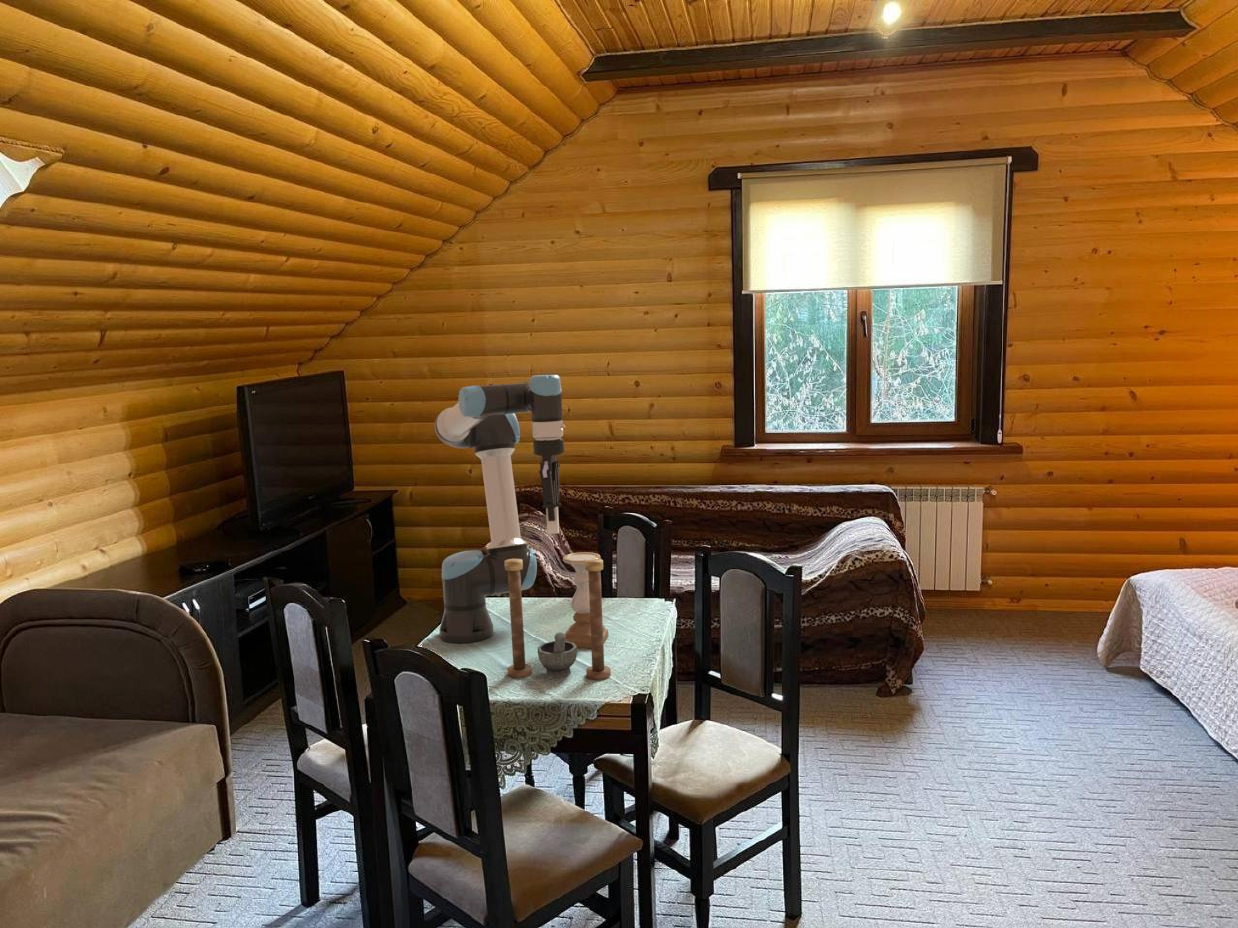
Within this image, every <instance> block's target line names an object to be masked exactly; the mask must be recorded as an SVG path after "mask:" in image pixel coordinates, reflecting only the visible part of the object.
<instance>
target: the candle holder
mask: <svg viewBox="0 0 1238 928" xmlns="http://www.w3.org/2000/svg"><path fill="white" fill-rule="evenodd" d="M588 559H601V555H600V554H599V553H596V552H592V551H591V552H587V551H583V552H582V551H581V552H574V553H573V552H572V553H568V554H566V555H564V556H563V557H562V561H563V562H564V563H565V564H568V565H572V567H573V568H574V570H575V576H574V577H573V579H572V580H573V582H574V584H575V586H576V591H575V593H574V595H573V597H572V598H571V600H570V608H571V610H572V611H573V612H575V613H574V614H573V616H572V617H573V618H572V619H573V621H574V622H575V623H572V624H571V625H570V626H569V627H568V629H567V630H566V631H565V633H564V634H565V636H566V639H565V641H568V642H572V643H575V645H576V646H577V649H591V627H590V603H589V579H588V571H587V570H585V561H586V560H588ZM608 637H609V630H608V628H606V626H605V624H603V645H604V644H605V642H606V641H607V639H608Z"/></svg>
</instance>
